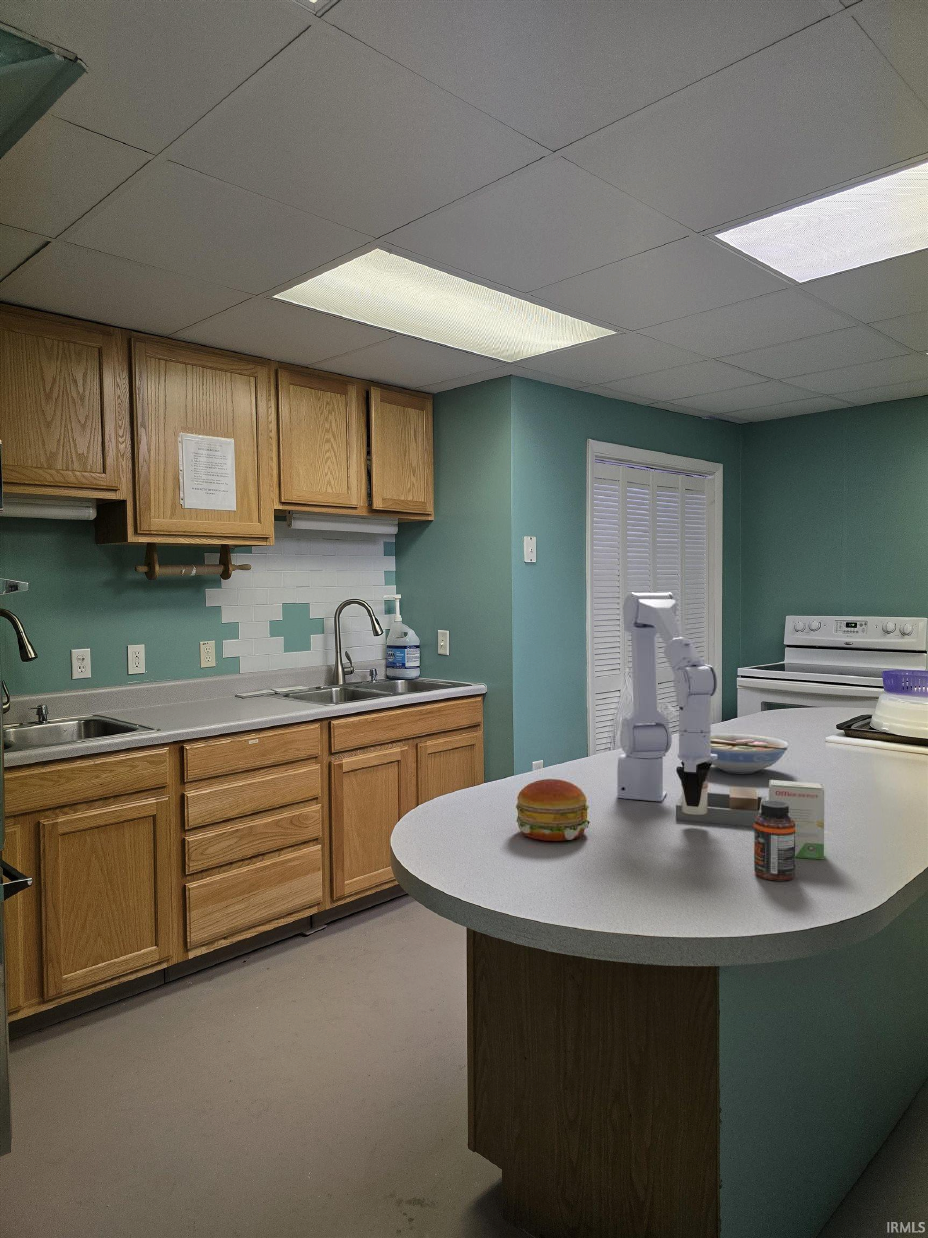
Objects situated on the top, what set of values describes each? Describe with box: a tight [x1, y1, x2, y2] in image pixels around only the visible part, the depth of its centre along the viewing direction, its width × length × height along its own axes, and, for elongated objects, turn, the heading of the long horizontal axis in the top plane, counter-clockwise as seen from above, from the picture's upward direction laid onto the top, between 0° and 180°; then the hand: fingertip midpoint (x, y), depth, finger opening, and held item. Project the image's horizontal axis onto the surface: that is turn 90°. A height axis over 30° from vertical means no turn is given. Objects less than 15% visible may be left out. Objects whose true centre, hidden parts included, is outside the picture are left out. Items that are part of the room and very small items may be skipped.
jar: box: [680, 780, 709, 815], centre depth 153 cm, size 5×5×6 cm
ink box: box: [768, 779, 825, 860], centre depth 137 cm, size 9×5×12 cm, turn 71°
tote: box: [675, 791, 767, 828], centre depth 161 cm, size 16×13×3 cm
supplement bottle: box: [753, 799, 796, 882], centre depth 126 cm, size 6×6×11 cm
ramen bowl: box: [709, 733, 789, 775], centre depth 201 cm, size 25×23×8 cm
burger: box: [515, 778, 591, 842], centre depth 149 cm, size 14×14×10 cm
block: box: [729, 786, 758, 811], centre depth 159 cm, size 5×9×5 cm, turn 162°
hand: (694, 802), depth 153 cm, fingers closed on jar, 5 cm apart
